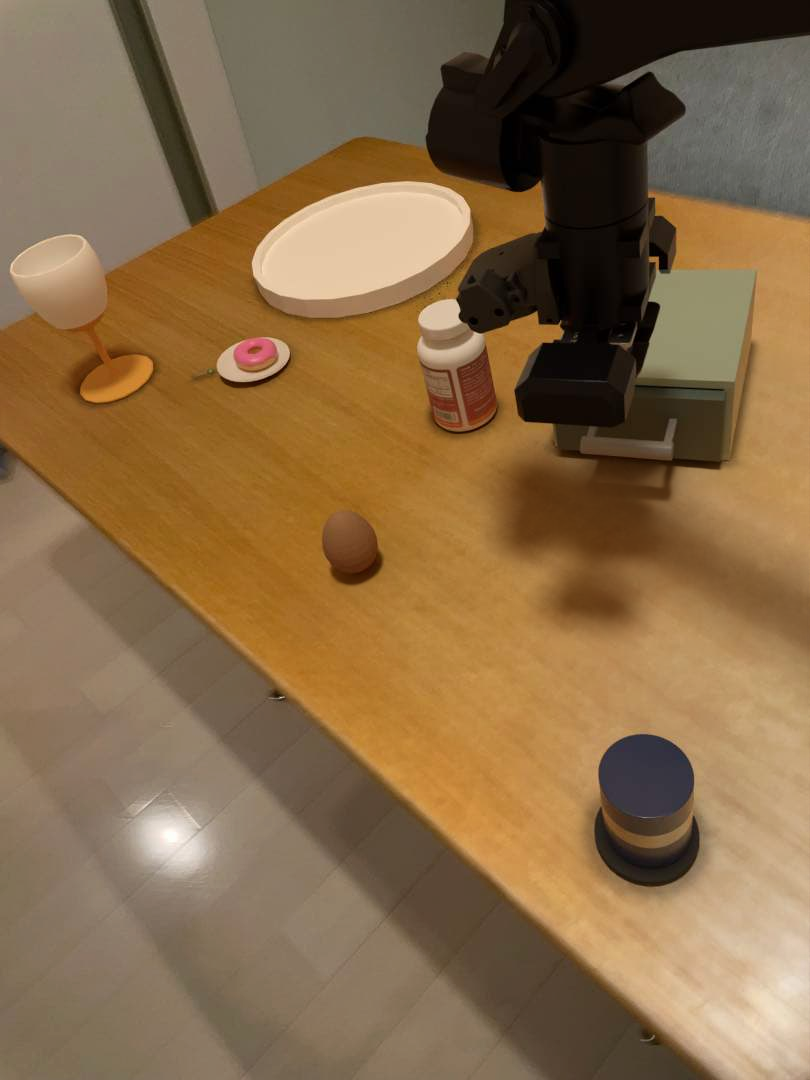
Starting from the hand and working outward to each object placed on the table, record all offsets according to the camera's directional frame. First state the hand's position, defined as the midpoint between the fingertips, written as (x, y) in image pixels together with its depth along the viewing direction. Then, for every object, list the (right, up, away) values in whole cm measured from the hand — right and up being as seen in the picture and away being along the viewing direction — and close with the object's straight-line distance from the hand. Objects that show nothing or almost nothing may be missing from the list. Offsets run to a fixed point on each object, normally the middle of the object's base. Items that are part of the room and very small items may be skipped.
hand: (608, 418), depth 59 cm
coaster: (0, -26, -8) cm, 27 cm away
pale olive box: (+9, +5, +19) cm, 21 cm away
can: (0, -25, -8) cm, 27 cm away
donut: (-32, +11, +37) cm, 50 cm away
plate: (-19, +28, +49) cm, 60 cm away
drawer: (+7, +2, +16) cm, 18 cm away
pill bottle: (-8, +4, +23) cm, 25 cm away
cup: (-48, +10, +42) cm, 64 cm away
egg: (-18, -11, +13) cm, 24 cm away
